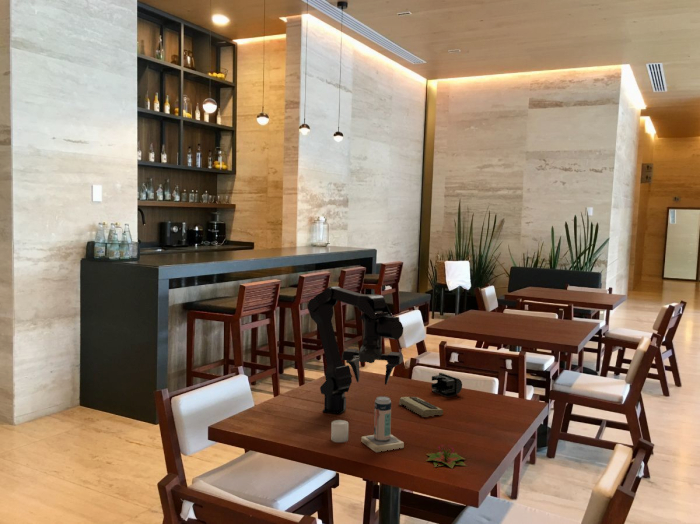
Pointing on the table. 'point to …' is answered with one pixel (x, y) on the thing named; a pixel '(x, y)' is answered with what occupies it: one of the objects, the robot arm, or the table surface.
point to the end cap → (446, 385)
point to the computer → (420, 406)
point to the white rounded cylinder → (339, 431)
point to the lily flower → (445, 455)
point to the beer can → (382, 418)
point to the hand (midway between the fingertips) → (371, 383)
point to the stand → (382, 443)
